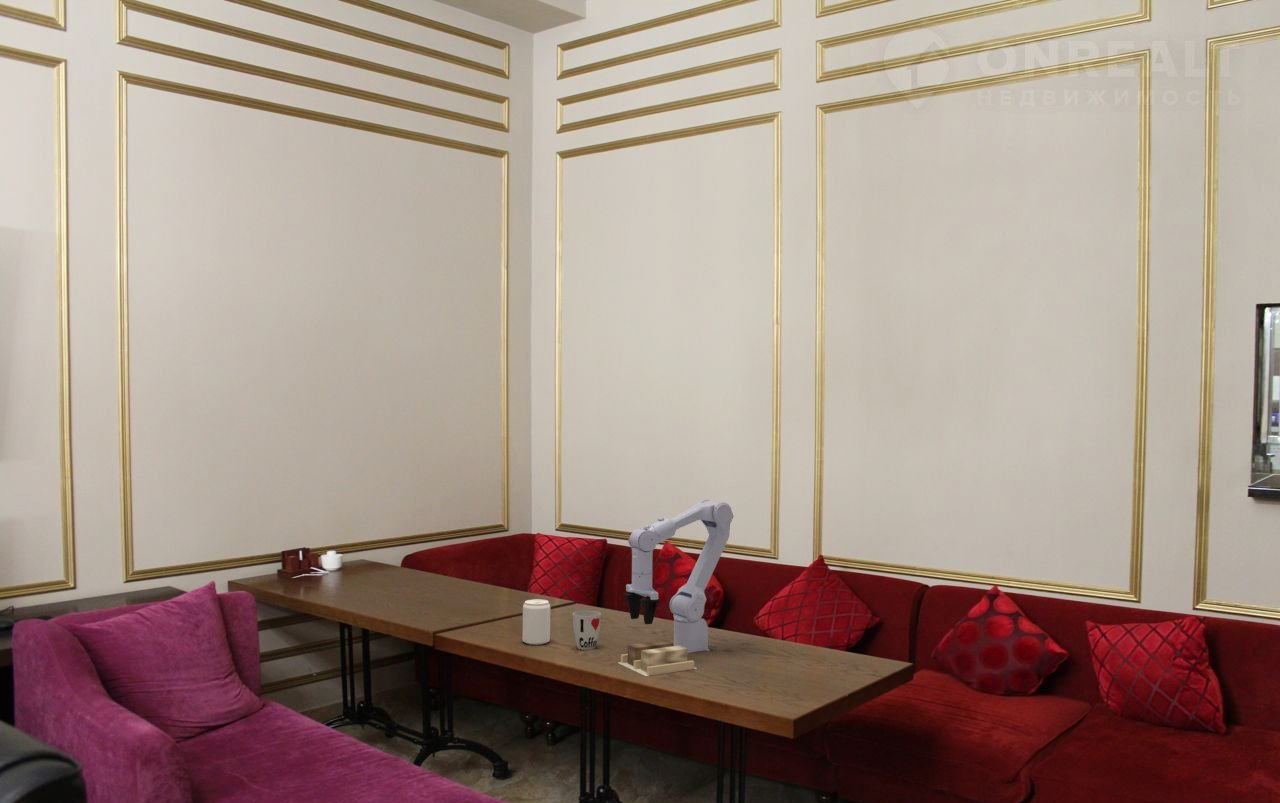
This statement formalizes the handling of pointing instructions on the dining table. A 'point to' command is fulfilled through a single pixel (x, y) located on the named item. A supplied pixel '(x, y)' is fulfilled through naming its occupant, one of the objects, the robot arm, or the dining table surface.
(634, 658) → the brown wooden block
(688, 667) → the slot board
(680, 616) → the robot arm
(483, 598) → the dining table surface
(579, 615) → the cup
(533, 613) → the beverage can
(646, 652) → the beige wooden block
